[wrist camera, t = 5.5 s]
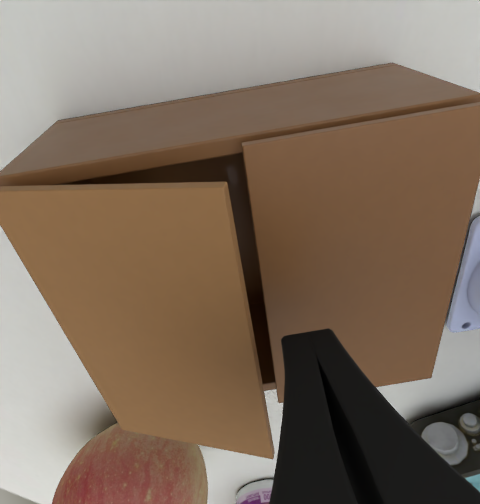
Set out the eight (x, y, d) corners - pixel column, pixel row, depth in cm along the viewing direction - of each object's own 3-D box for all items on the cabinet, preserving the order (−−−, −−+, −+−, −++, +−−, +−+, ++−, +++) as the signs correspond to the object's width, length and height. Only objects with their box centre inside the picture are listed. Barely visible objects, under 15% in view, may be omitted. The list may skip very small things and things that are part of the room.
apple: (50, 430, 25) (-2, 582, 19) (146, 373, 23) (124, 525, 16) (143, 474, 30) (127, 610, 23) (232, 429, 27) (242, 567, 21)
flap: (125, 422, 16) (121, 430, 15) (-12, 185, 9) (-21, 191, 9) (274, 451, 14) (273, 459, 14) (227, 180, 8) (223, 187, 7)
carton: (141, 322, 21) (121, 430, 15) (56, 120, 14) (-22, 189, 9) (375, 283, 20) (433, 378, 15) (393, 62, 14) (502, 99, 9)
